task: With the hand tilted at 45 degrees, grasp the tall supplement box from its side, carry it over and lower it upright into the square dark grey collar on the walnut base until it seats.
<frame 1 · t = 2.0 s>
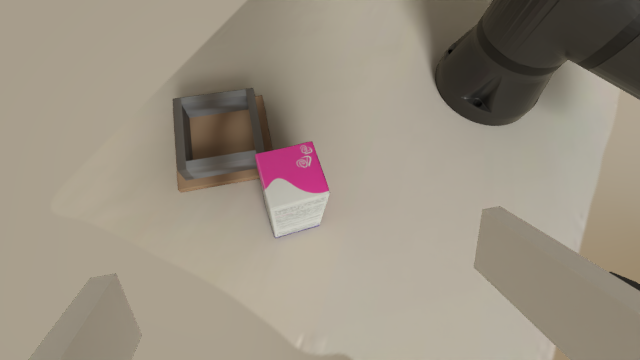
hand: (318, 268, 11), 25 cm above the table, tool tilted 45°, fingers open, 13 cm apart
supplement box: (292, 210, 38), on the table
socket: (224, 142, 40), on the table
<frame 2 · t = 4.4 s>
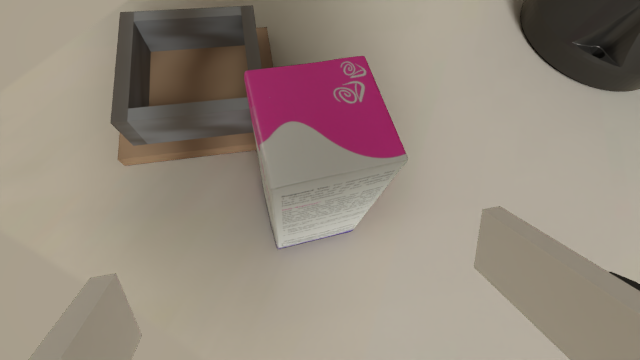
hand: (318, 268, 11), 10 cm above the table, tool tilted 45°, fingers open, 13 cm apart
supplement box: (307, 204, 23), on the table
socket: (204, 93, 26), on the table
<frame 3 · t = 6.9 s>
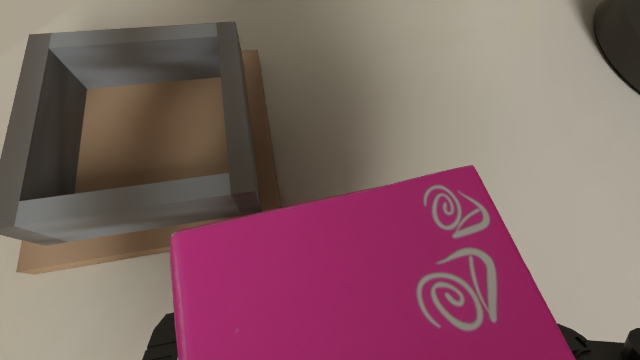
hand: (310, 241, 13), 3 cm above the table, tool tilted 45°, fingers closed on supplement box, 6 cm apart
supplement box: (319, 329, 15), on the table, touching gripper
socket: (166, 148, 18), on the table
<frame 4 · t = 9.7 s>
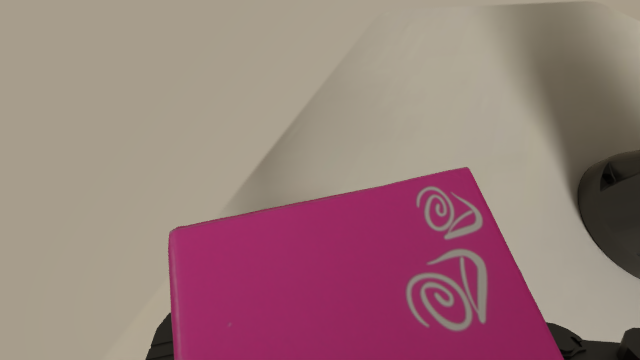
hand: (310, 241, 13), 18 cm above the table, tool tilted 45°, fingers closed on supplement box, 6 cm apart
supplement box: (322, 328, 15), point 14 cm above the table, touching gripper
when the fingers open (6 cm above the table, at t = 12.6 s): supplement box drops 1 cm, resting on socket.
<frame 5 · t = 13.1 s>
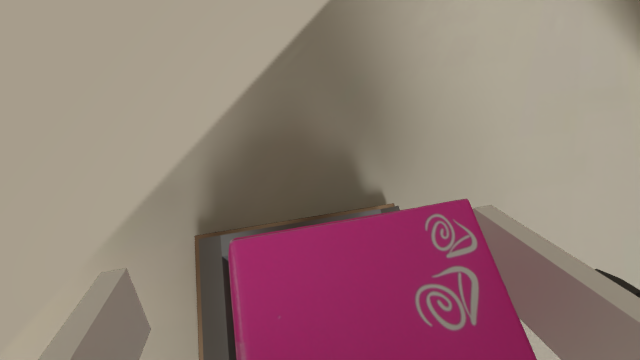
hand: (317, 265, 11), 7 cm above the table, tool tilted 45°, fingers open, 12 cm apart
supplement box: (325, 328, 16), point 1 cm above the table, touching socket
socket: (316, 327, 17), on the table
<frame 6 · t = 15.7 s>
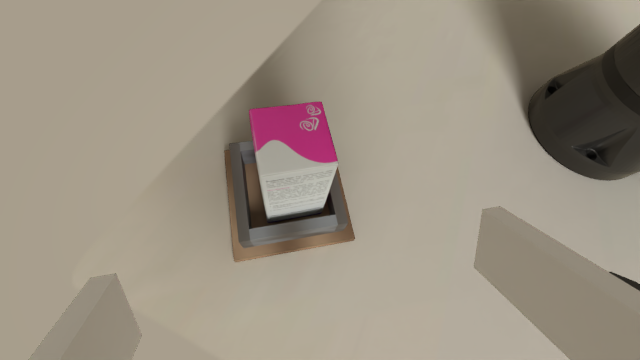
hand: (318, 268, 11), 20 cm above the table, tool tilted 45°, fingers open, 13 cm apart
supplement box: (291, 193, 32), point 1 cm above the table, touching socket
socket: (287, 196, 33), on the table
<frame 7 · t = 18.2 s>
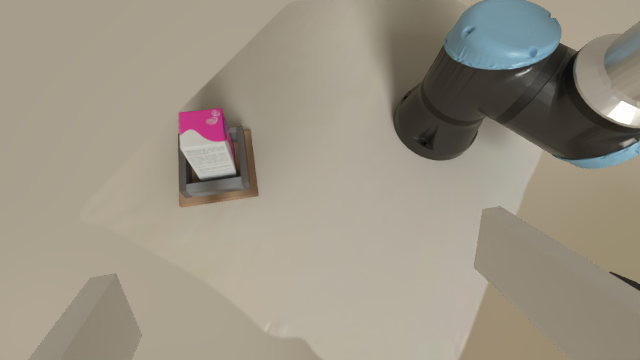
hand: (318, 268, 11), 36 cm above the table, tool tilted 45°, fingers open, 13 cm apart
supplement box: (219, 166, 50), point 1 cm above the table, touching socket
socket: (218, 168, 51), on the table
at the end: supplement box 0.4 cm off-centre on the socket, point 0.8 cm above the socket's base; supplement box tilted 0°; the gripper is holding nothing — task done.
